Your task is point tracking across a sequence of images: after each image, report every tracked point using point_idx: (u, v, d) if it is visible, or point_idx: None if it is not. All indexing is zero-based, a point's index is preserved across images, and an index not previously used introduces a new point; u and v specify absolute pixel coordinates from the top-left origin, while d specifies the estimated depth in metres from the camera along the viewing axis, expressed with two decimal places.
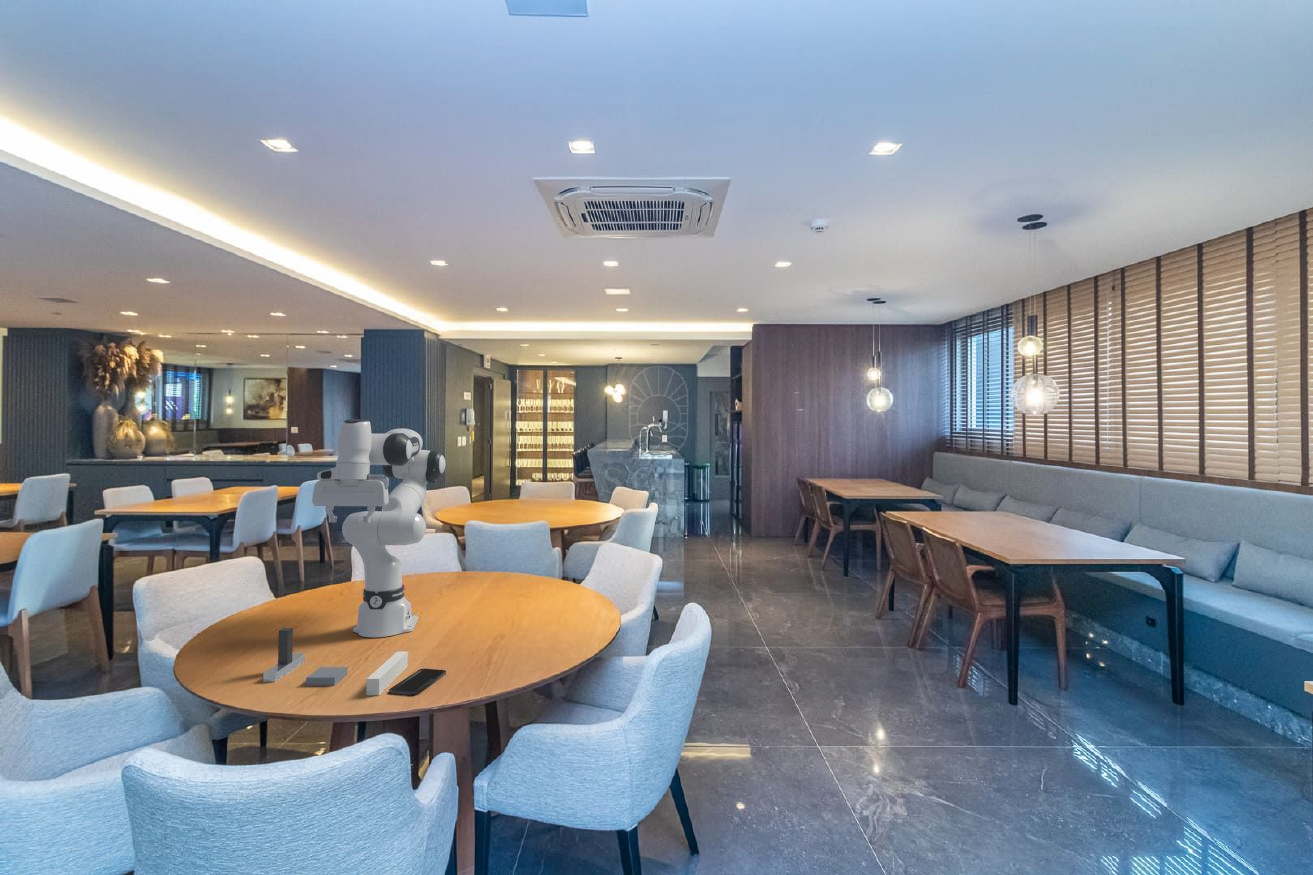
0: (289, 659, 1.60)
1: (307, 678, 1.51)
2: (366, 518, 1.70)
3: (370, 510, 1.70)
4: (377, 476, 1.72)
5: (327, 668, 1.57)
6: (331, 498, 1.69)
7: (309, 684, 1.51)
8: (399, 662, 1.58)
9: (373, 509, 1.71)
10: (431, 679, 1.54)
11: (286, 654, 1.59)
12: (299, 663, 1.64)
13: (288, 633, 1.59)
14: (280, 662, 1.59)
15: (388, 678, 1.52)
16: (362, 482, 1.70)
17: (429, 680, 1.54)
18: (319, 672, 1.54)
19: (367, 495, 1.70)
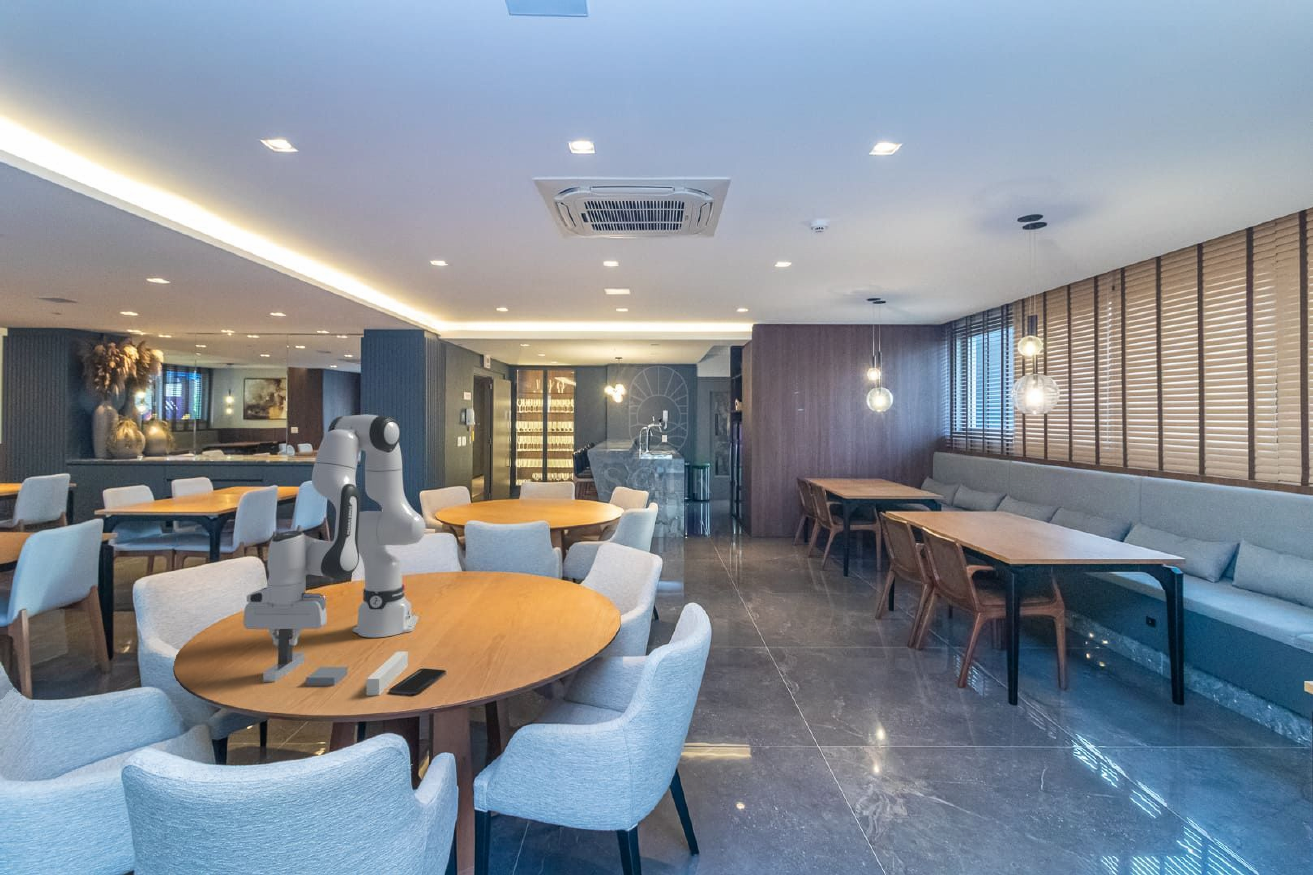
0: (289, 658, 1.60)
1: (307, 678, 1.51)
2: (292, 641, 1.59)
3: (296, 633, 1.59)
4: (313, 595, 1.60)
5: (327, 668, 1.57)
6: (263, 621, 1.58)
7: (309, 684, 1.51)
8: (399, 662, 1.58)
9: (299, 630, 1.60)
10: (431, 679, 1.54)
11: (286, 654, 1.59)
12: (299, 662, 1.64)
13: (288, 632, 1.59)
14: (280, 661, 1.59)
15: (388, 678, 1.52)
16: (296, 603, 1.58)
17: (429, 680, 1.54)
18: (319, 672, 1.54)
19: (302, 617, 1.58)
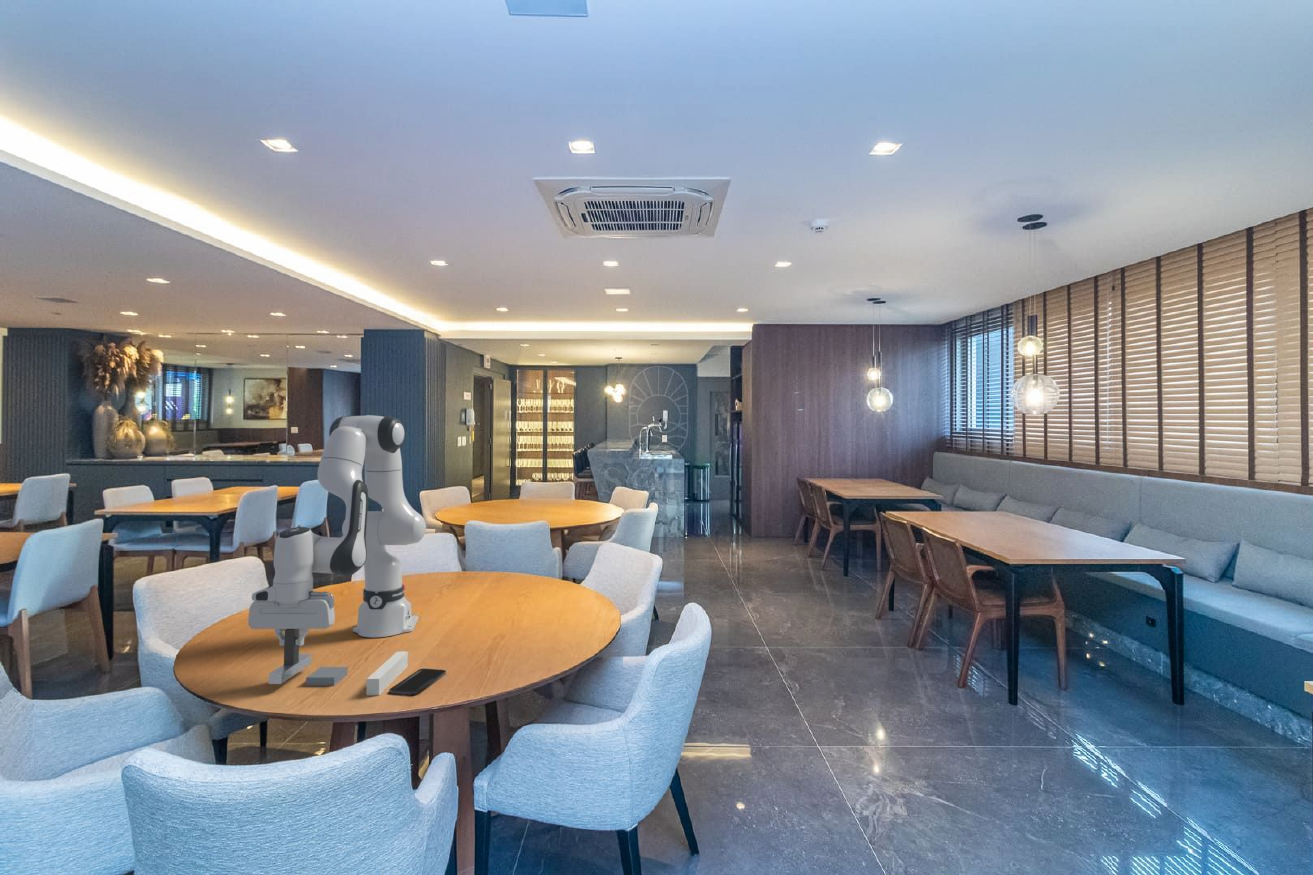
0: (295, 660, 1.54)
1: (307, 678, 1.51)
2: (298, 641, 1.53)
3: (302, 633, 1.53)
4: (320, 594, 1.54)
5: (327, 668, 1.57)
6: (269, 620, 1.52)
7: (309, 684, 1.51)
8: (399, 662, 1.58)
9: (306, 630, 1.54)
10: (431, 679, 1.54)
11: (292, 654, 1.53)
12: (305, 664, 1.58)
13: (294, 632, 1.53)
14: (286, 663, 1.52)
15: (388, 678, 1.52)
16: (303, 602, 1.52)
17: (429, 680, 1.54)
18: (319, 672, 1.54)
19: (310, 617, 1.52)
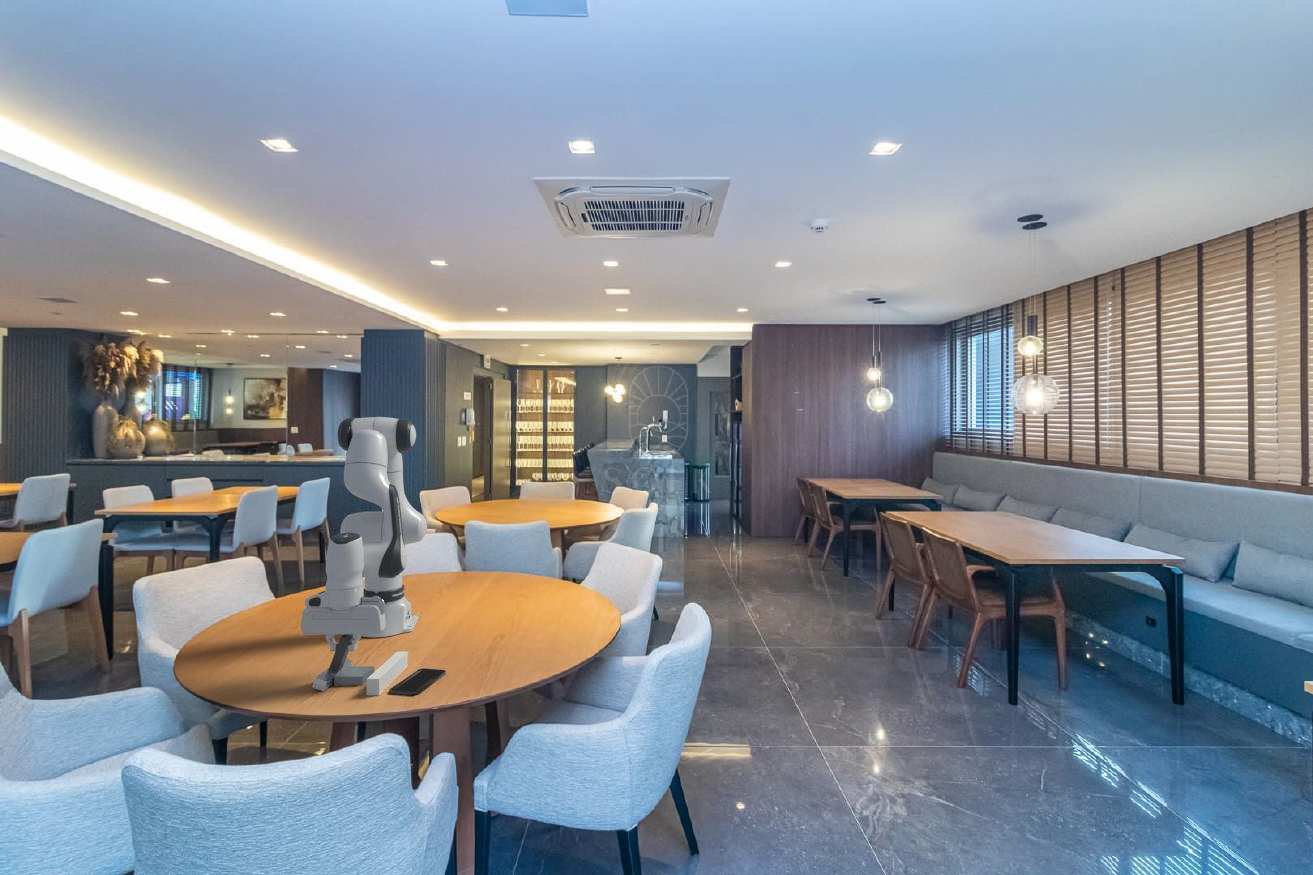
0: (340, 667, 1.54)
1: (335, 677, 1.51)
2: (352, 647, 1.54)
3: (356, 638, 1.54)
4: (372, 600, 1.55)
5: (354, 667, 1.57)
6: (322, 626, 1.53)
7: (337, 683, 1.51)
8: (399, 662, 1.58)
9: (359, 636, 1.55)
10: (431, 679, 1.54)
11: (339, 662, 1.53)
12: None
13: (349, 642, 1.54)
14: (331, 668, 1.53)
15: (388, 678, 1.52)
16: (355, 608, 1.53)
17: (429, 680, 1.54)
18: (346, 671, 1.55)
19: (362, 622, 1.53)
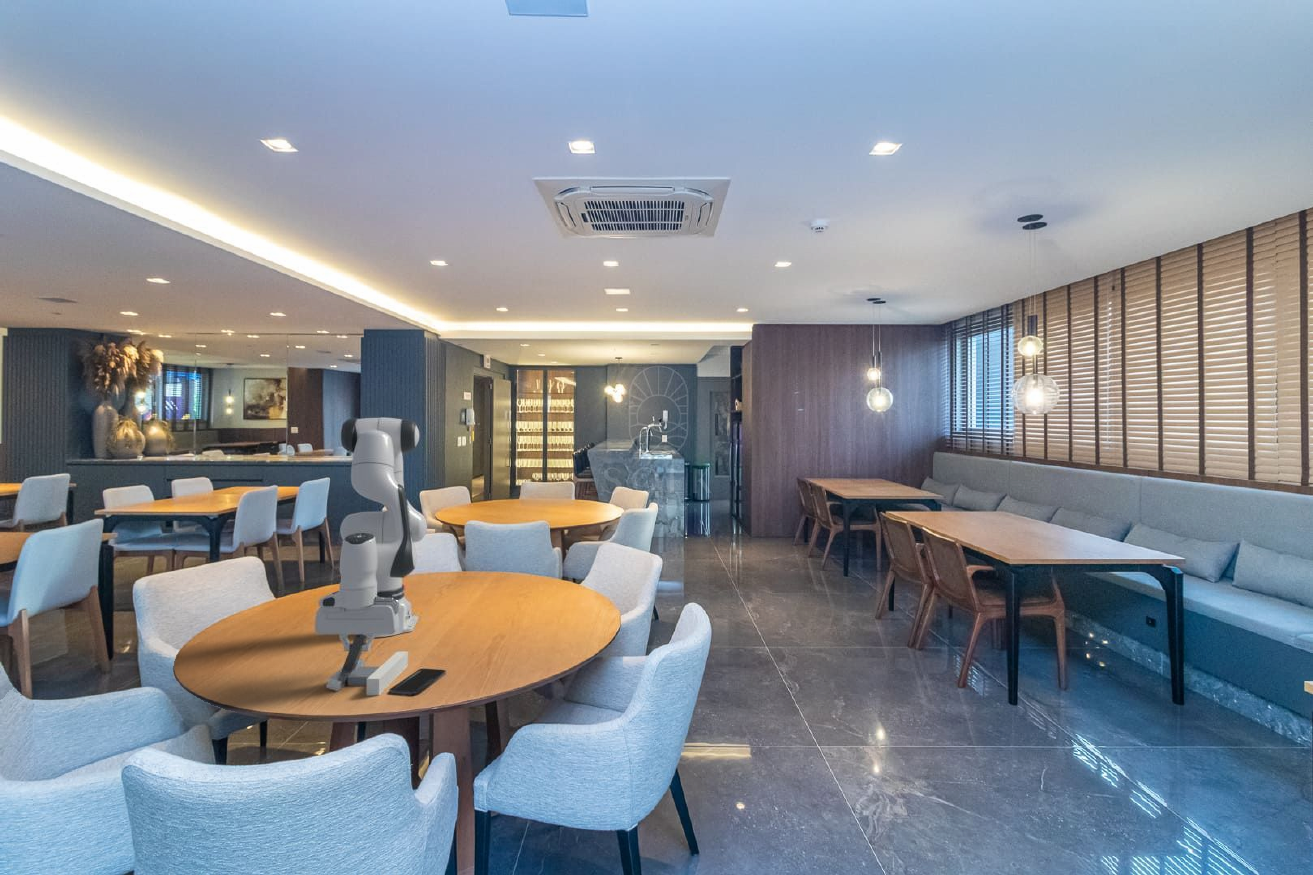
0: (354, 667, 1.55)
1: (349, 678, 1.51)
2: (366, 647, 1.54)
3: (370, 638, 1.54)
4: (385, 600, 1.55)
5: (367, 668, 1.57)
6: (335, 626, 1.53)
7: (351, 684, 1.51)
8: (399, 662, 1.58)
9: (373, 636, 1.55)
10: (431, 679, 1.54)
11: (353, 662, 1.54)
12: None
13: (363, 642, 1.54)
14: (345, 668, 1.53)
15: (388, 678, 1.52)
16: (369, 608, 1.53)
17: (429, 680, 1.54)
18: (360, 671, 1.55)
19: (375, 622, 1.53)
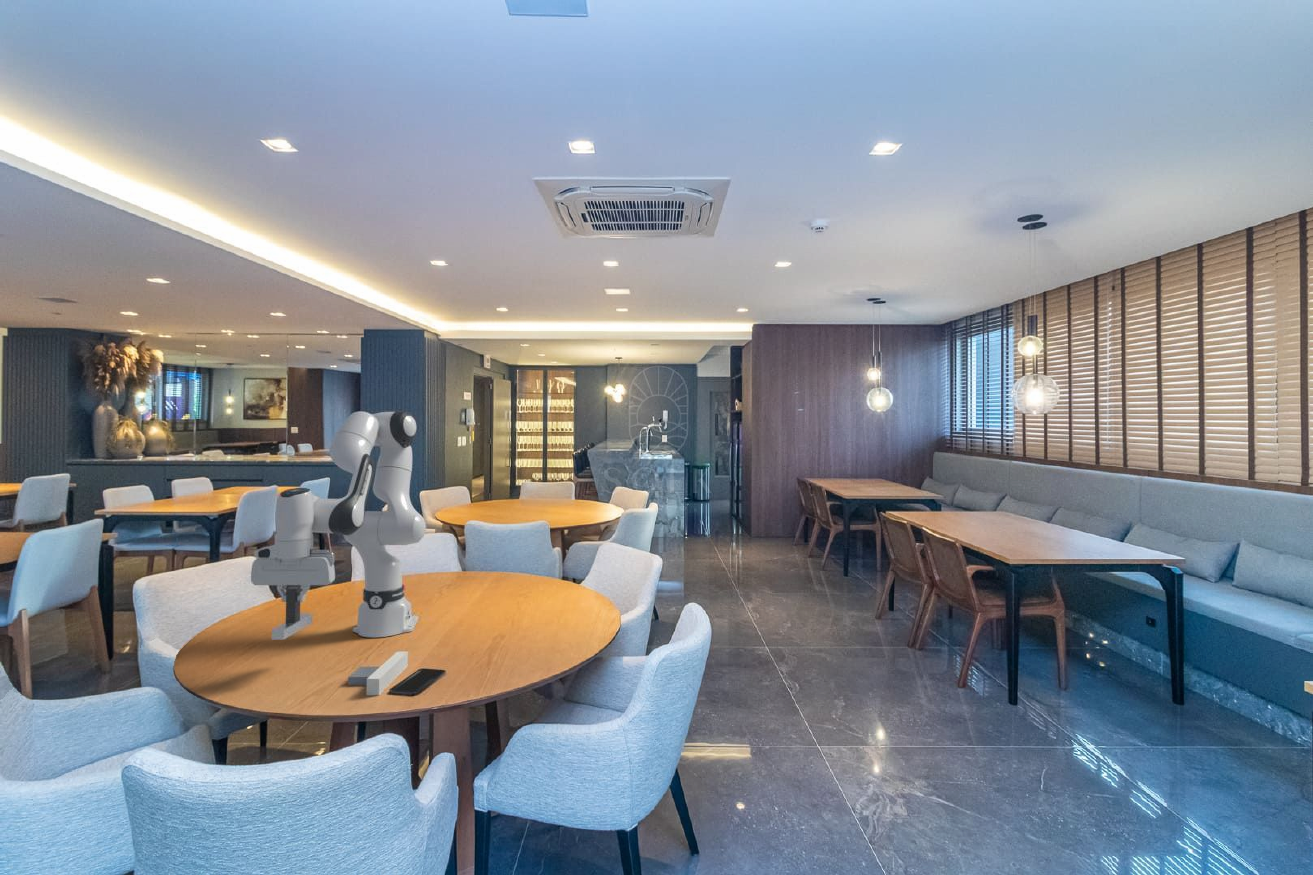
0: (297, 618, 1.59)
1: (349, 677, 1.51)
2: (300, 597, 1.59)
3: (304, 589, 1.59)
4: (321, 552, 1.59)
5: (367, 668, 1.57)
6: (271, 577, 1.57)
7: (351, 683, 1.51)
8: (399, 662, 1.58)
9: (307, 587, 1.59)
10: (431, 679, 1.54)
11: (294, 613, 1.58)
12: (306, 623, 1.64)
13: (296, 591, 1.58)
14: (288, 620, 1.58)
15: (388, 678, 1.52)
16: (304, 560, 1.58)
17: (429, 680, 1.54)
18: (360, 671, 1.55)
19: (311, 574, 1.58)
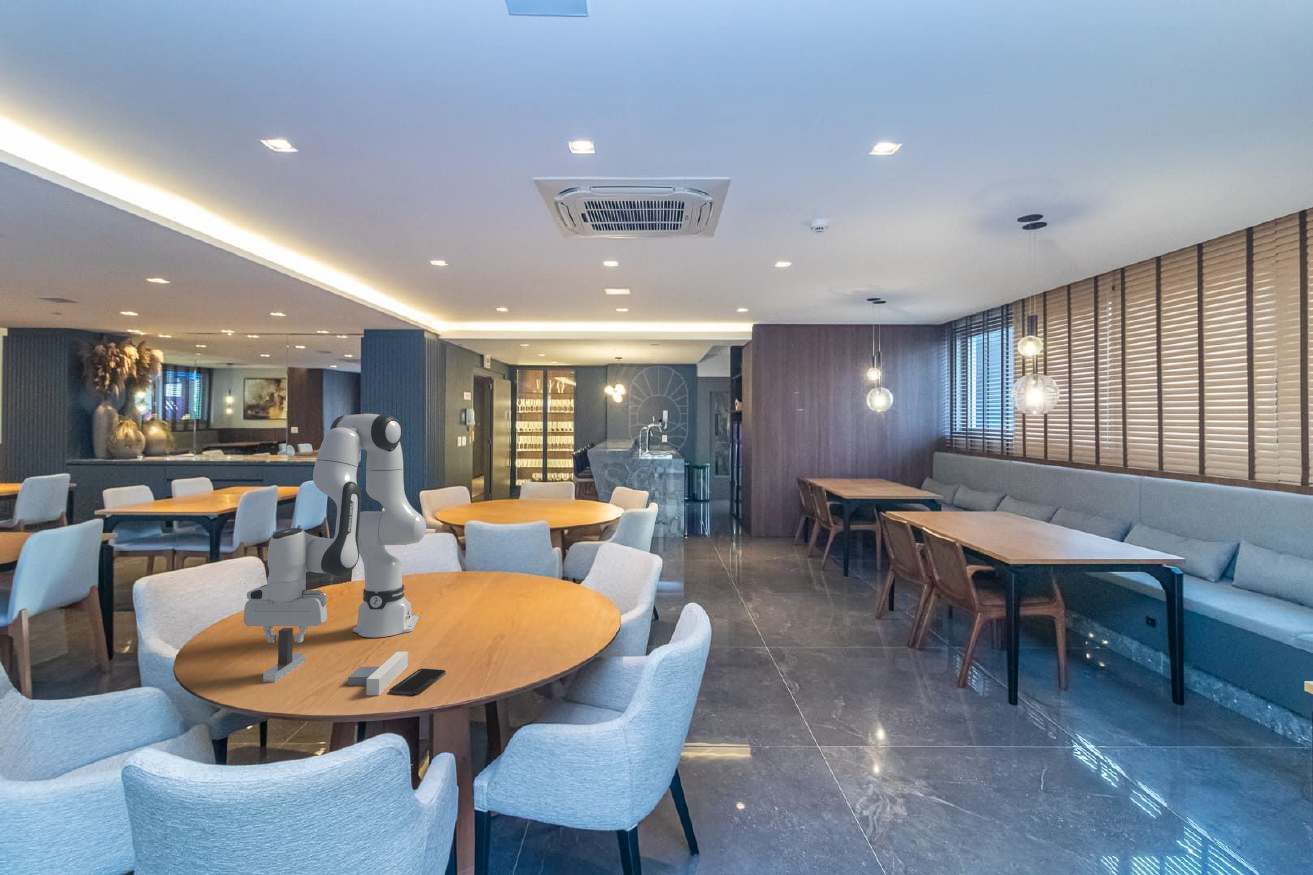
0: (289, 659, 1.60)
1: (349, 678, 1.51)
2: (298, 638, 1.59)
3: (302, 630, 1.59)
4: (313, 592, 1.60)
5: (367, 668, 1.57)
6: (264, 618, 1.58)
7: (351, 684, 1.51)
8: (399, 662, 1.58)
9: (305, 627, 1.60)
10: (431, 679, 1.54)
11: (286, 654, 1.59)
12: (299, 663, 1.64)
13: (288, 633, 1.59)
14: (280, 662, 1.58)
15: (388, 678, 1.52)
16: (296, 600, 1.58)
17: (429, 680, 1.54)
18: (360, 671, 1.55)
19: (303, 615, 1.58)
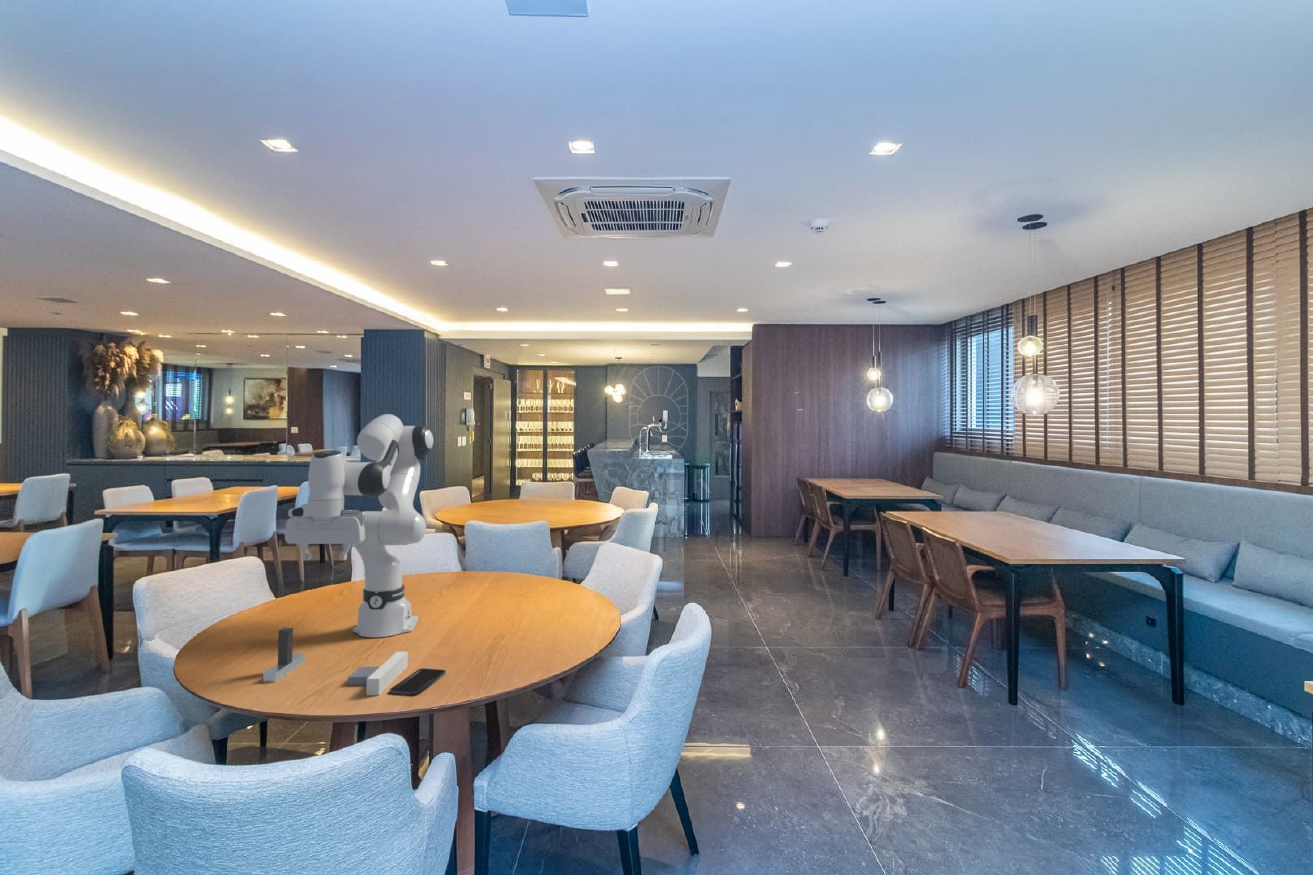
0: (289, 659, 1.60)
1: (349, 678, 1.51)
2: (342, 556, 1.64)
3: (346, 548, 1.64)
4: (352, 512, 1.64)
5: (367, 668, 1.57)
6: (304, 535, 1.62)
7: (351, 684, 1.51)
8: (399, 662, 1.58)
9: (349, 546, 1.65)
10: (431, 679, 1.54)
11: (286, 654, 1.59)
12: (299, 663, 1.64)
13: (288, 633, 1.59)
14: (280, 662, 1.58)
15: (388, 678, 1.52)
16: (336, 519, 1.63)
17: (429, 680, 1.54)
18: (360, 671, 1.55)
19: (342, 533, 1.63)
